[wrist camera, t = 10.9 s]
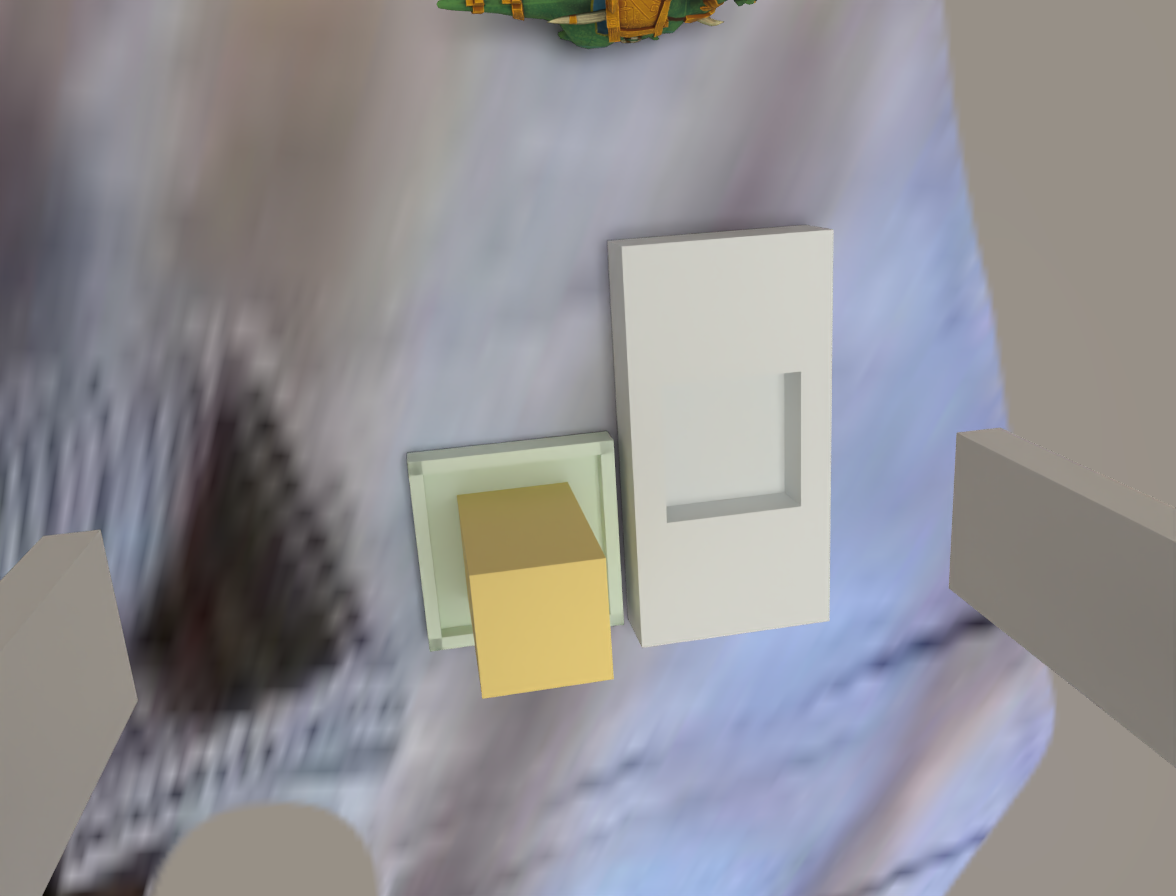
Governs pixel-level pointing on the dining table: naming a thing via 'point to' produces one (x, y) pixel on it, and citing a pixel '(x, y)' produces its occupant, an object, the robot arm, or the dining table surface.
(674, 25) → the figurine
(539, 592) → the block
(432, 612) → the tray
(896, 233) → the dining table surface
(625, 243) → the recessed block
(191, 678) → the dining table surface
